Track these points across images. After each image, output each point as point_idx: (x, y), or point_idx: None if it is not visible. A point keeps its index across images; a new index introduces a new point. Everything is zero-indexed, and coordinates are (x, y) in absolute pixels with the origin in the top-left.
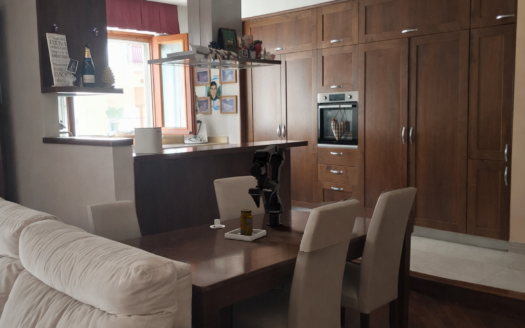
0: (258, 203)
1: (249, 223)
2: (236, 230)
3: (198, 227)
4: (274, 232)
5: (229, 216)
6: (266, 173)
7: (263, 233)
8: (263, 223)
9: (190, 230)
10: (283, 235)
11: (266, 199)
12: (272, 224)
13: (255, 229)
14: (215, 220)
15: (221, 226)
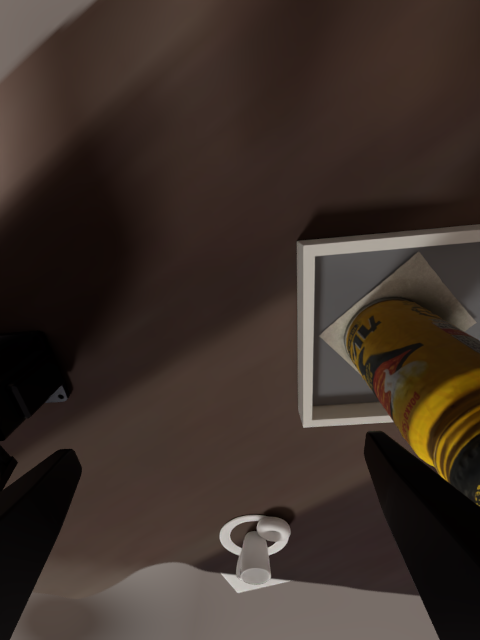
0: (464, 507)
1: (472, 337)
2: (369, 413)
3: (308, 571)
4: (197, 235)
5: (68, 590)
6: None
7: (338, 240)
8: (51, 429)
9: (370, 565)
10: (242, 100)
11: (17, 583)
12: (54, 360)
13: (308, 331)
14: (270, 574)
15: (275, 520)
